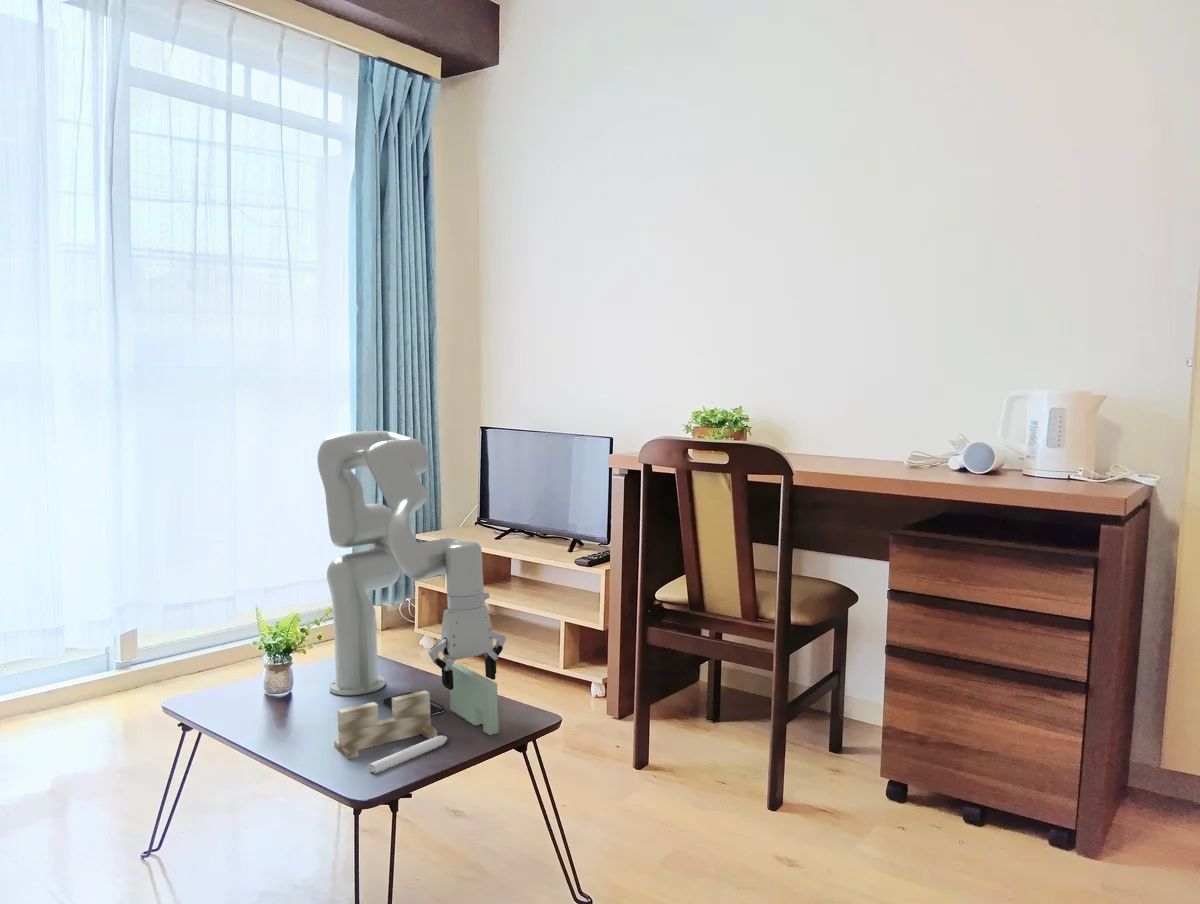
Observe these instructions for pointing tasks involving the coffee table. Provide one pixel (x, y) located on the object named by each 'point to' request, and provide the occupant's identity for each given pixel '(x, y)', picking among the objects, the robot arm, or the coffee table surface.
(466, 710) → the mint green slab
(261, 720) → the coffee table surface
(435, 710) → the phone
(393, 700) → the slotted wooden stand
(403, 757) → the marker
